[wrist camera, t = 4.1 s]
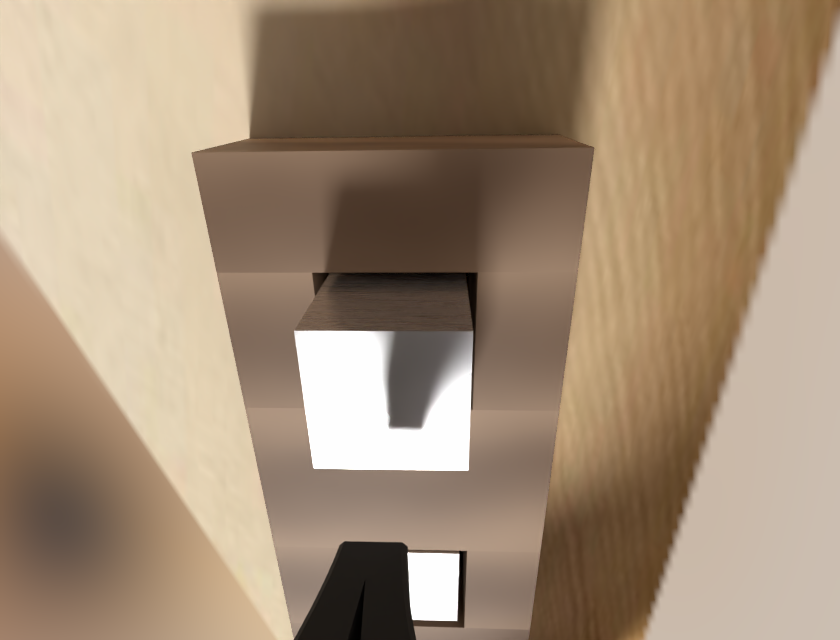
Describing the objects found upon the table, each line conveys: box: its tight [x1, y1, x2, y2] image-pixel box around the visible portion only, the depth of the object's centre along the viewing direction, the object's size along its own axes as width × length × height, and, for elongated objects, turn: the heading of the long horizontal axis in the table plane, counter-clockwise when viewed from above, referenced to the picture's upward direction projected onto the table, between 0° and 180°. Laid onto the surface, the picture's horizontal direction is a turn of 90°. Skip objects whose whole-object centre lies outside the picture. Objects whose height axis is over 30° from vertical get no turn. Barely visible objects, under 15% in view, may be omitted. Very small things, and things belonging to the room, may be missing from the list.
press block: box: [192, 134, 594, 640], centre depth 18 cm, size 22×10×4 cm, turn 1°
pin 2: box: [408, 549, 459, 621], centre depth 21 cm, size 4×4×4 cm
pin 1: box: [294, 273, 473, 471], centre depth 13 cm, size 4×4×4 cm
